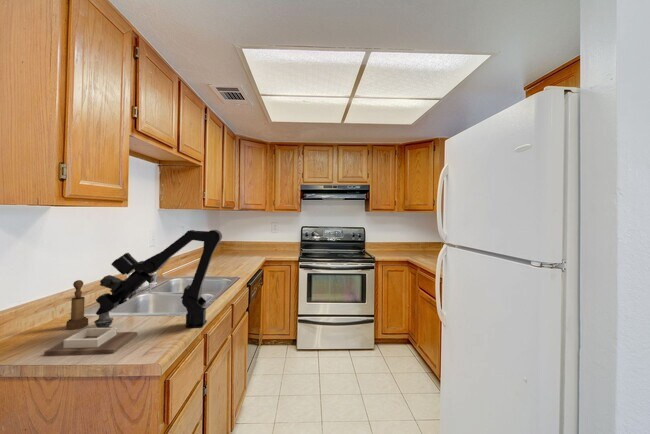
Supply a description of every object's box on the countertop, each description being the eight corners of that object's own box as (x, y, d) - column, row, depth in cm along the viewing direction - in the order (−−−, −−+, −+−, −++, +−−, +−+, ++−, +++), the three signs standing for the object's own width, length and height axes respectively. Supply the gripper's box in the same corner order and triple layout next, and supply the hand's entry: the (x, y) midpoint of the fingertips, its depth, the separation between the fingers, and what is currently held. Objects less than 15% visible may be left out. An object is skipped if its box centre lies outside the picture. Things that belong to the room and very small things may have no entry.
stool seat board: (137, 335, 105) (137, 325, 105) (113, 353, 91) (113, 341, 91) (77, 336, 103) (78, 326, 103) (44, 355, 89) (44, 343, 89)
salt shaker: (117, 327, 112) (117, 296, 112) (104, 333, 106) (104, 300, 106) (103, 326, 112) (104, 295, 112) (89, 332, 106) (90, 300, 106)
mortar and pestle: (84, 328, 110) (85, 281, 110) (62, 330, 107) (63, 282, 107) (90, 322, 116) (91, 278, 116) (70, 324, 114) (71, 279, 114)
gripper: (128, 264, 119) (97, 291, 117) (102, 273, 101) (66, 305, 99) (148, 282, 121) (118, 310, 118) (127, 294, 102) (91, 327, 100)
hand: (100, 312), depth 109 cm, fingers closed on salt shaker, 4 cm apart
